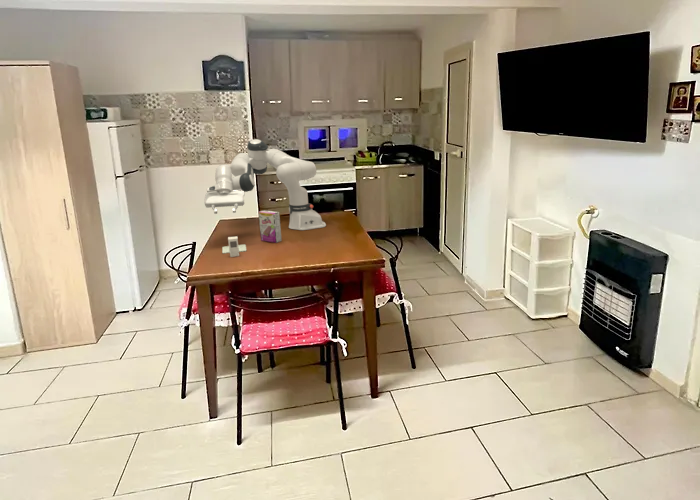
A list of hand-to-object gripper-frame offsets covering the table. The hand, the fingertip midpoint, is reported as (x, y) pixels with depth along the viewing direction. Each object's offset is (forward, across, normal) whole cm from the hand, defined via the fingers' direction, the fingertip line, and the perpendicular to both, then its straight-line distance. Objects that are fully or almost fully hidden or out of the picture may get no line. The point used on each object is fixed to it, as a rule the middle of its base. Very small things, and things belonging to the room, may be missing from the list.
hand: (225, 212), depth 253 cm
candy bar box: (+10, -23, -16) cm, 30 cm away
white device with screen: (+25, -4, -2) cm, 25 cm away
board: (+17, -3, -9) cm, 20 cm away
